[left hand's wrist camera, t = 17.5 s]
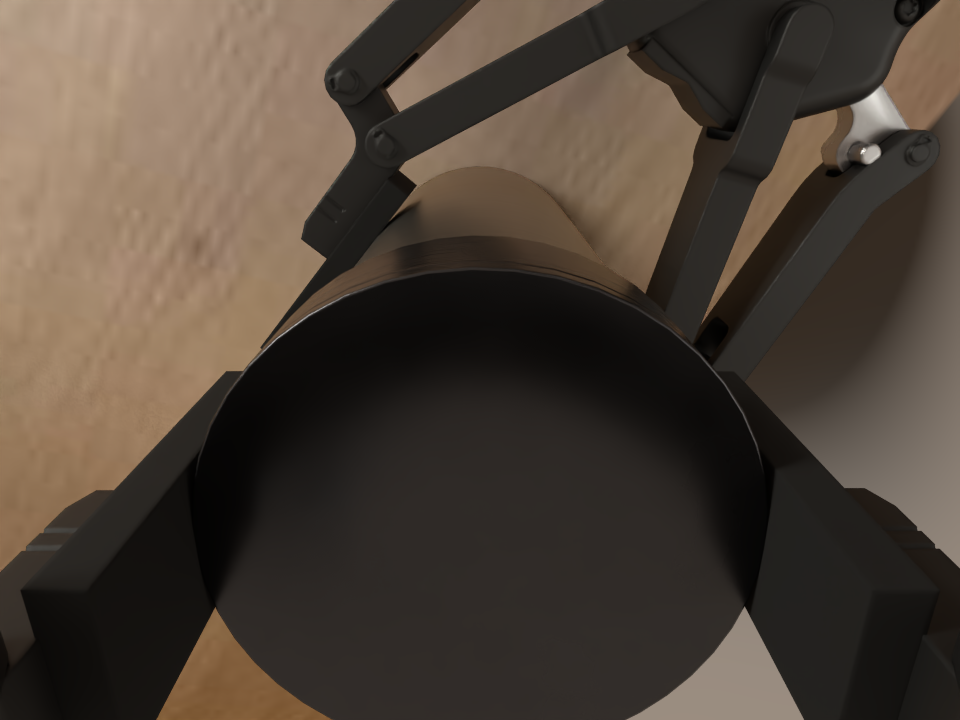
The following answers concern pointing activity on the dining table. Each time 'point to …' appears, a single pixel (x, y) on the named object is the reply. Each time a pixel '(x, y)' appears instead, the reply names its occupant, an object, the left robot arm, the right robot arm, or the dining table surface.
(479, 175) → the jar
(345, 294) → the lid
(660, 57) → the right robot arm
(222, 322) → the dining table surface
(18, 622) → the left robot arm
